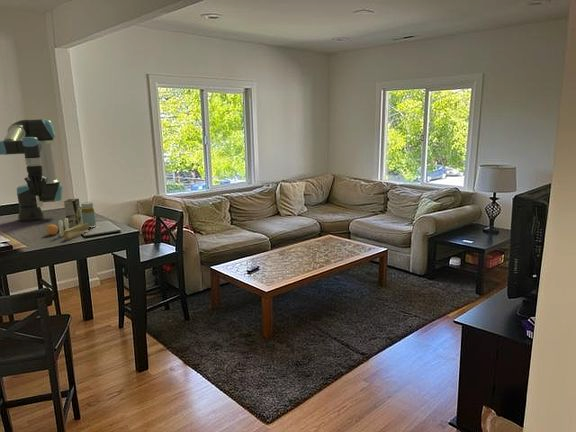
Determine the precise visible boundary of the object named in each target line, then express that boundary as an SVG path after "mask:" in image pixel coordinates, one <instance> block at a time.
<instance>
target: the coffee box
mask: <svg viewBox="0 0 576 432" xmlns="http://www.w3.org/2000/svg"><path fill="white" fill-rule="evenodd" d="M63 206H64V212H65V218H68V223H69V228H72V227H75V226H77V225H80V224H82V223H83V219H82V211H81V206H80V198H70V199H67V200H64V201H63Z"/></svg>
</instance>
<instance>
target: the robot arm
mask: <svg viewBox="0 0 576 432" xmlns="http://www.w3.org/2000/svg"><path fill="white" fill-rule="evenodd" d="M6 132H7V134H6V136H5V137H4V139H3V140H0V156H1V155H2V156H3V155H4V156H5V155H7V156H8V155H24V159H25V160H24V161H25V165H26V173H27V176H26V177H24V181H25V182H26V184H22V185H19V186H18V187H17V188H16V195H17V200H18V202H17V203H18V207H19V210H18V216H17V220H19V222H33V221H34V220H35V221H38V220H42V219H44V218H45V214H44V212H43V210H42V209H41V208H42V207H44V203H53V202H61V201H62V200H63V193H64V190H63V189H64V188H63V187H64V186H63V183H60V180H58V179H57V173H56V167H55V160H54V154H53V147H52V143H53V141H54V139H55V138H56V131H55V127H54V125H53V122H52V121H51V120H50V119H43V118H42V119H22V120H21V119H20V120H18V121H16V122H14V123H12V124H11V125H10V126H9V127H8V128H7V131H6Z"/></svg>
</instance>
